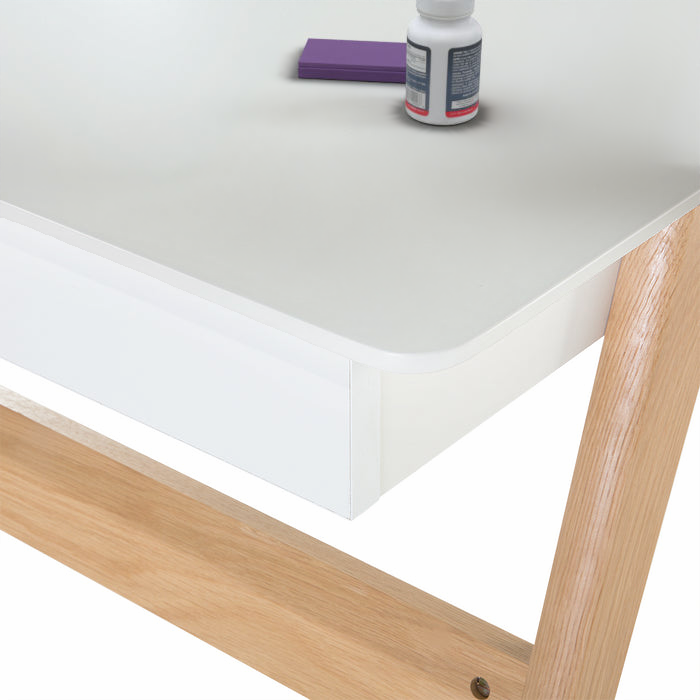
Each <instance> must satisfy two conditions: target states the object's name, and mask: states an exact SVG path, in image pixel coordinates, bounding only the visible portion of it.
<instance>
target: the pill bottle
mask: <svg viewBox="0 0 700 700" xmlns="http://www.w3.org/2000/svg"><path fill="white" fill-rule="evenodd" d="M475 2H476V0H415V8H416V11H417V13H418V14H419V15H418V16H417V17H415V18H413V19H412V20H411V21H410V23H409V24H408V26H407V29H406V43H407V55H406V83H405V98H404V99H405V101H404V102H405V105H404V106H405V111H406V113H407V115H408V116H409V117H410V118H412V119H413V120H415V121H418V122H421V123H424V124H429V125H437V126H451V125H458V124H462V123H465V122H469V121H470V120H473V118H474V117H475V116H476V115H477V114H478V111H479V104H480V83H481V65H482V48H483V47H482V46H483V28H482V25H481V24H480V23H479V21H478V20H477V19H476V18H474V17H472V15H473V14H474V13H475Z"/></svg>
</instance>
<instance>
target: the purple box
mask: <svg viewBox="0 0 700 700" xmlns="http://www.w3.org/2000/svg"><path fill="white" fill-rule="evenodd" d="M406 55H407V42H398V41H380V40H379V41H376V40H357V39H355V40H354V39H334V38H333V39H332V38H313V37H312V38H311V37H308V38H307V40H306V42H305V45H304V47H303V50H302V52H301V55H300V57H299V60H298V61H297V78H299V79H300V78H301V79H318V80H322V79H324V80H338V81H339V80H340V81H341V80H342V81H362V82H379V83H381V82H382V83H399V84H400V83H401V84H406Z"/></svg>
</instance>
